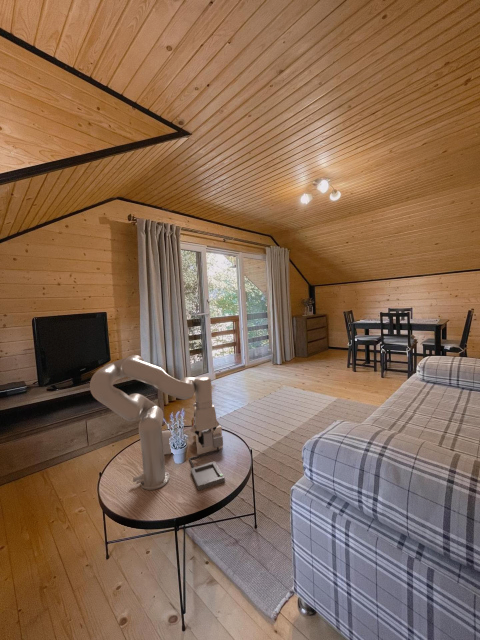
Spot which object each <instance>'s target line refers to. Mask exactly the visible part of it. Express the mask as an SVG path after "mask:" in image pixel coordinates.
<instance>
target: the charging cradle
mask: <svg viewBox="0 0 480 640" xmlns="http://www.w3.org/2000/svg"><path fill="white" fill-rule="evenodd" d="M190 475H192V476H191V477H192V479H193V481H194V483H195V485H196V488H197V489H198V491H202V490H205V489H207V488H210V487H214V486H216V485H219V484H223V483H225V482H226V479H225V476H224V474H223V473H222V471H221V469H220V468H219V466H218V464H217V463H216V461H211V462H208V463H204V464H201V465H198V466H194V468H192V467H191V468H190Z"/></svg>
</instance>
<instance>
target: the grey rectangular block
mask: <svg viewBox="0 0 480 640" xmlns="http://www.w3.org/2000/svg"><path fill="white" fill-rule="evenodd" d="M201 435H202V438H203V446H204V447H209V446H212V445H213V437H212V432H211V431H210V430H209V429H207V430H203V431H202V434H201Z"/></svg>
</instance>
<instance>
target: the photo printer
mask: <svg viewBox="0 0 480 640" xmlns="http://www.w3.org/2000/svg"><path fill="white" fill-rule="evenodd" d="M170 431H171V430H170ZM170 431H169V430H162V436H163V446H164V456H165V455H172V454H171V449H170V445H169V438H170V436H171V433H170Z"/></svg>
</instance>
